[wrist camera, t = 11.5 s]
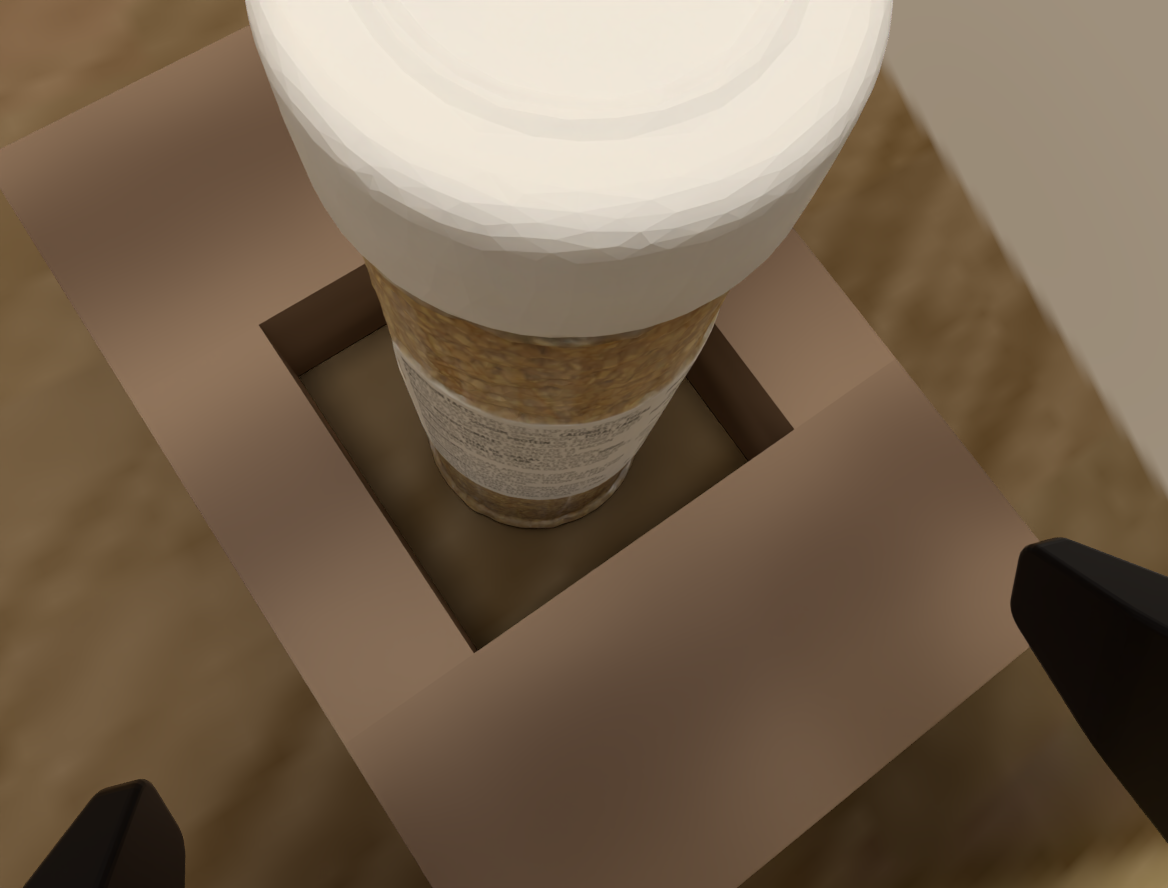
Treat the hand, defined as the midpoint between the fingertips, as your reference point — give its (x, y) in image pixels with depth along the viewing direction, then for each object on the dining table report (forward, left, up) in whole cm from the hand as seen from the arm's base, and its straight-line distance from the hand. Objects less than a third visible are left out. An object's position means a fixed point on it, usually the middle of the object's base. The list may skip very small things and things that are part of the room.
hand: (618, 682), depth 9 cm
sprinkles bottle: (+4, -2, -9) cm, 11 cm away
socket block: (+5, -2, -9) cm, 10 cm away
